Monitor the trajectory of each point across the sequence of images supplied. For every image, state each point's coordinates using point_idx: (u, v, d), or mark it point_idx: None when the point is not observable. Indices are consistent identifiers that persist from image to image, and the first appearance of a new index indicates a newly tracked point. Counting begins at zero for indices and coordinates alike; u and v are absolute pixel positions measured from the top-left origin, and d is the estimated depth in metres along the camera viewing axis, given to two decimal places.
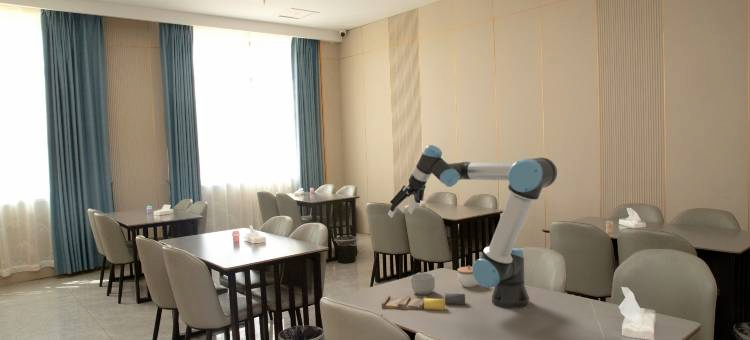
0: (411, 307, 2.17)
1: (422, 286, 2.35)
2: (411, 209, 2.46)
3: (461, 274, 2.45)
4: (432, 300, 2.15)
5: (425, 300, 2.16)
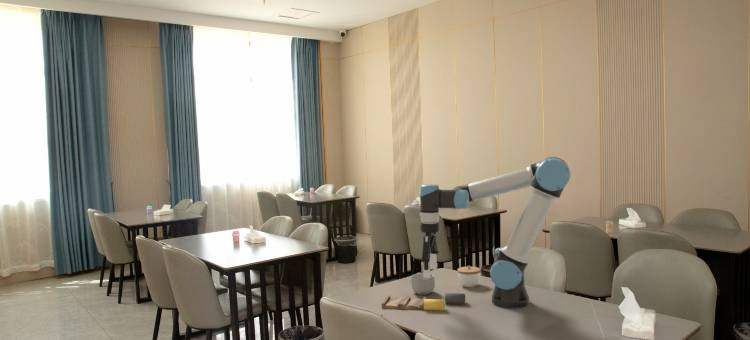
0: (411, 307, 2.17)
1: (422, 286, 2.35)
2: (434, 264, 2.23)
3: (461, 274, 2.45)
4: (431, 302, 2.14)
5: (424, 303, 2.15)
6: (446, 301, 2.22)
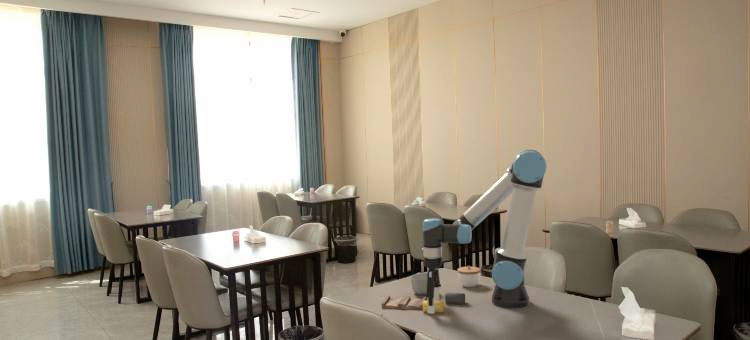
0: (411, 307, 2.17)
1: (422, 286, 2.35)
2: (437, 298, 2.23)
3: (461, 274, 2.45)
4: None
5: (424, 309, 2.13)
6: (446, 300, 2.22)
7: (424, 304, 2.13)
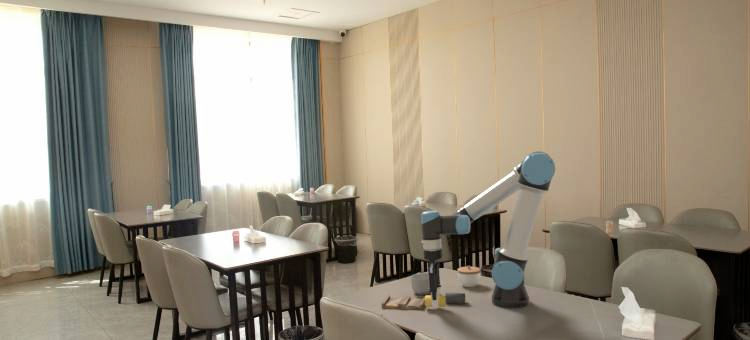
0: (411, 307, 2.17)
1: (422, 286, 2.35)
2: None
3: (461, 274, 2.45)
4: None
5: (426, 299, 2.15)
6: (446, 299, 2.22)
7: (427, 295, 2.17)
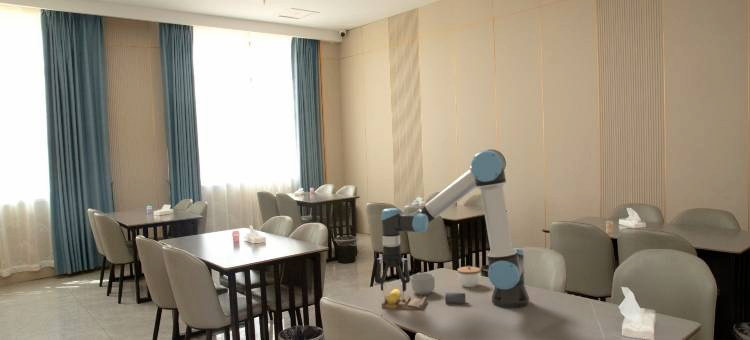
0: (411, 307, 2.17)
1: (422, 286, 2.35)
2: None
3: (461, 274, 2.45)
4: (390, 293, 2.26)
5: None
6: (446, 299, 2.22)
7: (396, 289, 2.28)
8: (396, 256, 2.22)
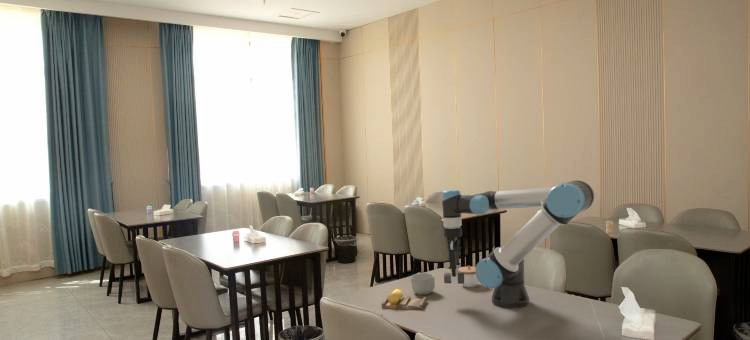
0: (411, 307, 2.17)
1: (422, 286, 2.35)
2: None
3: None
4: (392, 292, 2.26)
5: (394, 290, 2.29)
6: (445, 281, 2.21)
7: (398, 289, 2.28)
8: (456, 236, 2.23)
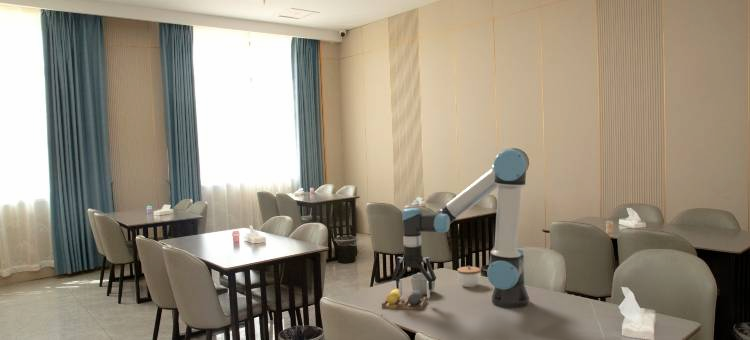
0: (411, 307, 2.17)
1: (422, 286, 2.35)
2: None
3: (461, 274, 2.45)
4: None
5: None
6: None
7: (395, 289, 2.28)
8: (417, 257, 2.20)
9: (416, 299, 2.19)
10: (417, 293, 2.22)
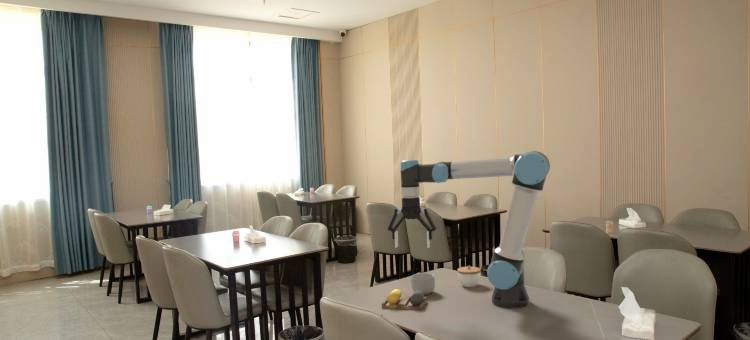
0: (411, 307, 2.17)
1: (422, 286, 2.35)
2: None
3: (461, 274, 2.45)
4: (390, 293, 2.26)
5: (392, 291, 2.29)
6: None
7: (396, 289, 2.28)
8: (414, 209, 2.19)
9: (418, 300, 2.18)
10: (420, 294, 2.22)
